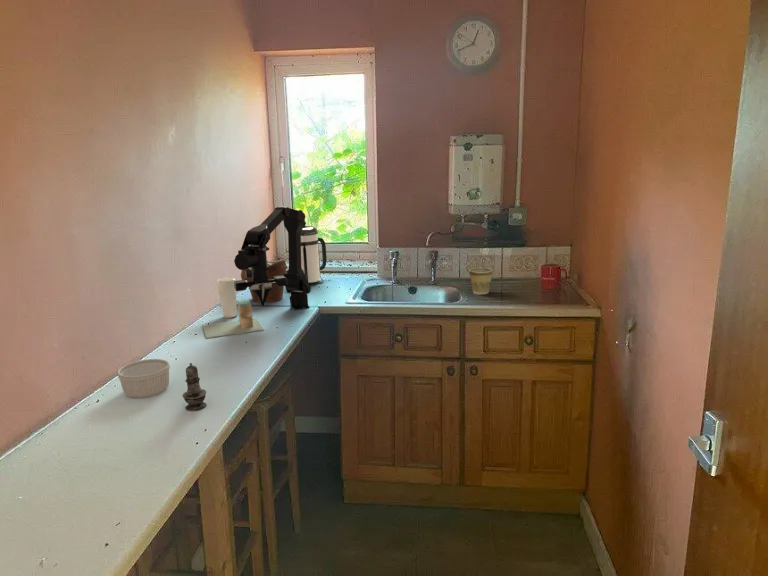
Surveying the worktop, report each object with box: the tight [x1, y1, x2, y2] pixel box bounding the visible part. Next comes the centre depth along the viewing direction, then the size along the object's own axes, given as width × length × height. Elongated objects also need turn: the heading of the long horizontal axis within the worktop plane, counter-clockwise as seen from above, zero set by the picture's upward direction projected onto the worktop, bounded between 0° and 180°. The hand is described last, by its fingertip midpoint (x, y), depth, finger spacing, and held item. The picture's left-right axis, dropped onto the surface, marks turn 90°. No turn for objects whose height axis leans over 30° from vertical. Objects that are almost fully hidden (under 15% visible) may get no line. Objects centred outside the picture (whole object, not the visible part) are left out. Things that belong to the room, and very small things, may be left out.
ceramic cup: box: [468, 267, 494, 296], centre depth 254 cm, size 13×10×10 cm
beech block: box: [237, 299, 253, 328], centre depth 218 cm, size 4×6×9 cm, turn 21°
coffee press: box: [301, 221, 327, 285], centre depth 281 cm, size 17×16×30 cm
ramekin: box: [117, 358, 171, 399], centre depth 163 cm, size 13×13×7 cm
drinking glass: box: [216, 276, 238, 319], centre depth 231 cm, size 7×7×15 cm
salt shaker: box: [182, 362, 207, 412], centre depth 151 cm, size 6×6×12 cm
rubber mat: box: [202, 317, 265, 339], centre depth 217 cm, size 20×16×1 cm
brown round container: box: [240, 258, 289, 303], centre depth 255 cm, size 18×20×18 cm
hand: (262, 305), depth 219 cm, fingers closed
